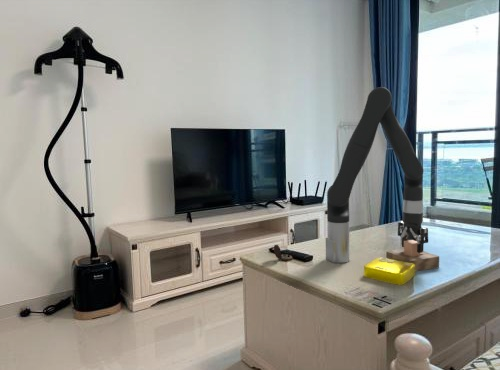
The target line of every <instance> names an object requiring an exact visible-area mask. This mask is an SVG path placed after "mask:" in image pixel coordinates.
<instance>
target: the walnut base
mask: <svg viewBox="0 0 500 370" xmlns="http://www.w3.org/2000/svg"><path fill="white" fill-rule="evenodd" d="M385 254H386V256H385V258H387V259H392V260H397V261H403V262H408V263H413V264H414V265H415V272H419V271H420V272H421V271H427V270H432V269H437V267H438V268H440V256H439V255H436V254H434V253H431V252H428V251H425V250H423V252H422V253H420V256H414V257H410V256H408V255H405V254H404V248H399V249H393V250H388V251H387V250H386V251H385ZM431 268H432V269H431Z"/></svg>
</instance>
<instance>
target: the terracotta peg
mask: <svg viewBox="0 0 500 370" xmlns="http://www.w3.org/2000/svg"><path fill="white" fill-rule="evenodd" d="M417 244H418V243H417V241H414V240H408V241H404V247H403V249H404V254H405V255H408V256H410V257H414V256H420V253H418V252H417Z"/></svg>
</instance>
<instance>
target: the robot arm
mask: <svg viewBox="0 0 500 370" xmlns="http://www.w3.org/2000/svg"><path fill="white" fill-rule="evenodd" d="M392 98H393V97H392V93H391V91H390V90H389V89H388V88H386V87H383V86H380V87H379V86H378V87H375V88H373V89H372V90H371V91H370V92H369V94H368V95H367V99H366V104H365V106H364V109H363V112H362V115H361V117H360V119H359V121H358V123H357V125H356V127H355V129H354V131H353V132H352V135H351V136H350V138H349V141H348V143H347V144H346V147H345V151H344V153H343V156H342V160H341V162H340V163H341V164H340V168H339V171H338V173H337V176H336V178H335V179H334V182H333V183H332V184H331V186H330V187H328V189H327V192H326V203H327V204H326V206H327V207H326V216H327V218H326V219H327V221H326V223H327V228H326V229H327V237H325V259H326V260H328V261H330V263H333V264H334V263H337V264H339V263H340V264H342V263H348V262H349V261H350V197H351V193H352V191H353V187H354V184H355V182H356V179H357V177H358V175H359V173H360V172H361V170H362V168H363V167H364V164H365V162H366V160H367V158H368V157H369V154H370V152H371V150H372V146H373V143H374V141H375V139H376V134H377V131H378V128H379V124H380V125H381V127H382V129H383V131H384V133H385V135H386V138H387V140H388V142H389V145H390V146H391V149H392V151H393V153H394V155H395V157H396V158H397V160H398V163H399V164H400V167H401V170H402V172H403V176H404V177H403V178H404V179H403V181H404V183H403V184H404V187H403V202H402V221H399V222H398V223H397V236H399V237H400V239H401V243H400V244H401V247H402V248H404V241H407V237H408V235H411V236H414V238H415V239H416V240H417V243H418V244H417V252H418V253H422V252H423V251H424V244H428V243H429V228H428V227H422V223H423V222H424V202H423V197H424V193H423V191H424V190H423V174H424V168H423V166H422V163H421V162H420V160H419V158H418V156H417V154H416V152H415V150H414V147H413V144H412V142H411V141H410V139H409V137H408V135H407V133H406V132H405V130H404V128H403V127H402V125H401V124H400V122H399V120H398V119H397V117H396V115H395V112H394V108H393V106H392V100H393V99H392ZM418 234H419V236H417V235H418ZM419 239H420V240H421V241H420V240H419Z"/></svg>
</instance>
